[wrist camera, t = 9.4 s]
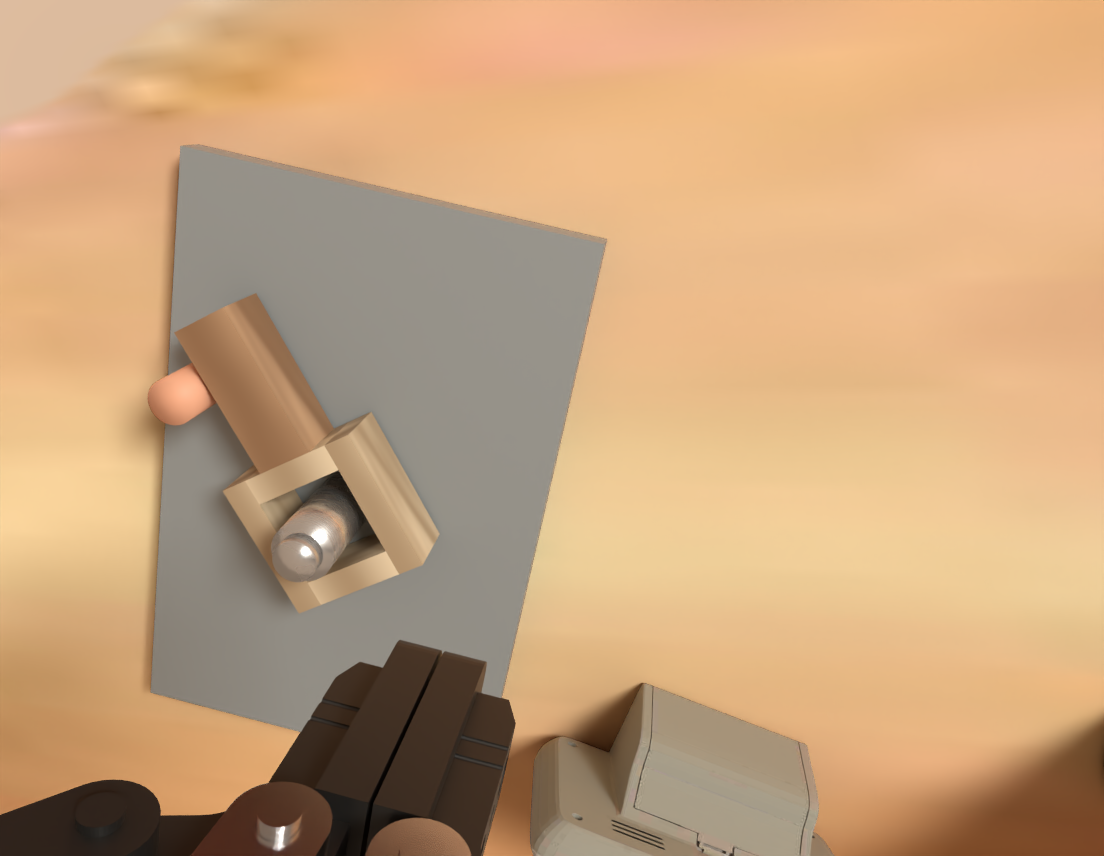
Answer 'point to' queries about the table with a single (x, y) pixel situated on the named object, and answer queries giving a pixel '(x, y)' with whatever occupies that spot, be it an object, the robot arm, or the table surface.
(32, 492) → the table surface
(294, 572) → the post
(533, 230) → the jig deck
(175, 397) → the salmon orange capsule
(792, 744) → the digital clock
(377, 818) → the robot arm
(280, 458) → the square frame with handle
